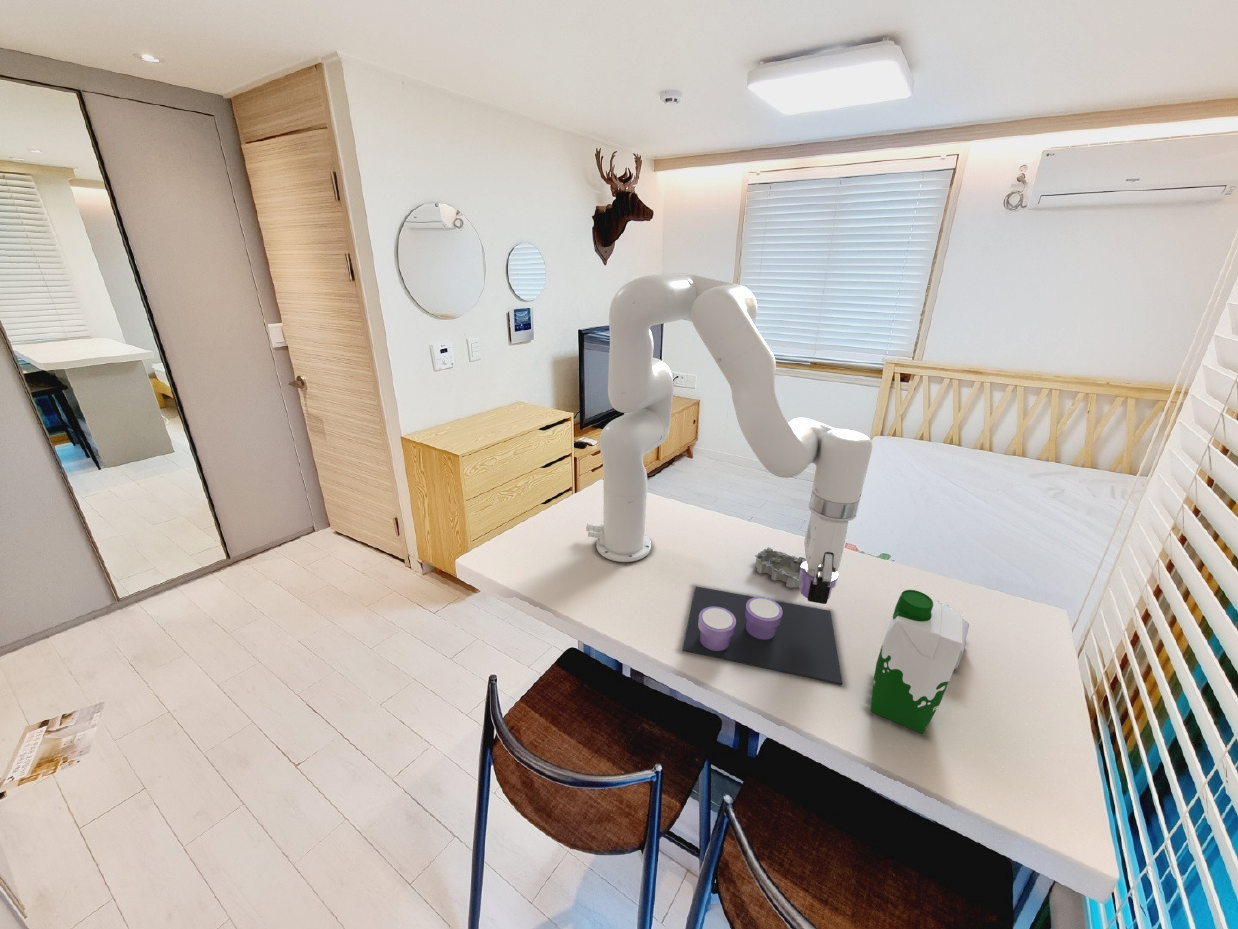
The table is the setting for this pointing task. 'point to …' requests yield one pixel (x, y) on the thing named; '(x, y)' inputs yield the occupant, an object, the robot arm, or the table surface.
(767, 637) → the dish middle
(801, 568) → the dish right
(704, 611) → the purple short cylinder
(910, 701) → the milk carton
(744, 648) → the placemat
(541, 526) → the table surface
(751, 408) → the robot arm
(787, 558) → the egg carton
